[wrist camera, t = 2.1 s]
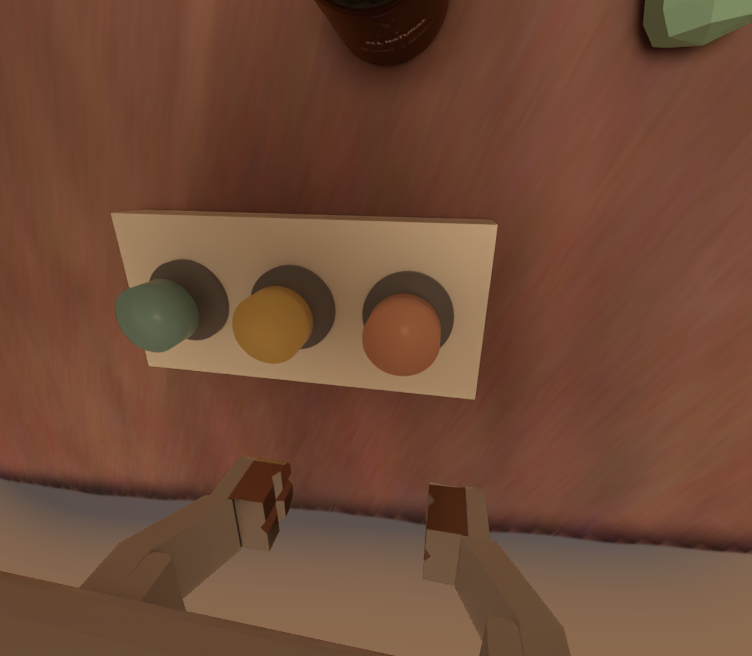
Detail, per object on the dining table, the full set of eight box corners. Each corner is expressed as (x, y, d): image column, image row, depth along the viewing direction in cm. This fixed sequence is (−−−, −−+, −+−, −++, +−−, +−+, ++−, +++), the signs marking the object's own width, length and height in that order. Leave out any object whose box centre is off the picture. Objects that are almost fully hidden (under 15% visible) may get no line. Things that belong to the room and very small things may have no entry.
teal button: (147, 337, 26) (125, 349, 25) (132, 277, 25) (107, 284, 23) (203, 342, 26) (185, 355, 24) (192, 280, 24) (171, 289, 22)
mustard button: (252, 347, 25) (237, 360, 23) (244, 283, 23) (227, 292, 22) (314, 352, 24) (304, 366, 23) (311, 287, 23) (299, 297, 21)
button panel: (173, 350, 33) (143, 369, 30) (142, 209, 29) (103, 213, 25) (472, 378, 29) (475, 404, 26) (492, 219, 24) (498, 226, 21)
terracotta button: (368, 357, 24) (362, 372, 22) (368, 291, 22) (361, 301, 20) (438, 363, 23) (437, 379, 21) (443, 296, 21) (443, 307, 20)
